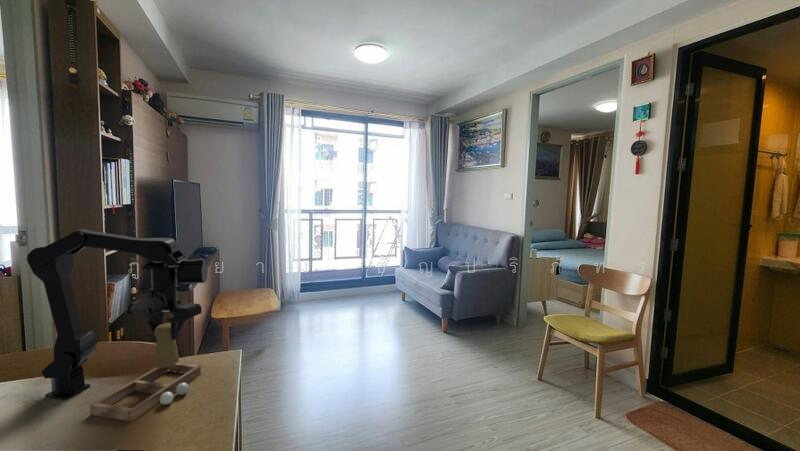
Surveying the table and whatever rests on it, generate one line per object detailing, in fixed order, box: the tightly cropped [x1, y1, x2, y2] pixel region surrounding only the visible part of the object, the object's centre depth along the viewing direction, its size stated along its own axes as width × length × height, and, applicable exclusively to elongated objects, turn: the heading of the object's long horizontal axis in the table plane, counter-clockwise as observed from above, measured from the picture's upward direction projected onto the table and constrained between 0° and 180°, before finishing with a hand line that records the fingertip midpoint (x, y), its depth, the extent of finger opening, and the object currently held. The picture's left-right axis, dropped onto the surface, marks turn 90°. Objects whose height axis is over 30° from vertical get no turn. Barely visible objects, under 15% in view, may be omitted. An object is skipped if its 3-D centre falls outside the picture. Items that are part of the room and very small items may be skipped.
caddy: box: [90, 362, 202, 422], centre depth 92 cm, size 12×22×2 cm, turn 171°
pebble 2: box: [175, 383, 189, 396], centre depth 92 cm, size 3×3×3 cm
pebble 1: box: [159, 392, 175, 406], centre depth 87 cm, size 3×3×3 cm
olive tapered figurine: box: [153, 322, 180, 368], centre depth 96 cm, size 6×6×11 cm
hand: (165, 338), depth 96 cm, fingers closed on olive tapered figurine, 5 cm apart
